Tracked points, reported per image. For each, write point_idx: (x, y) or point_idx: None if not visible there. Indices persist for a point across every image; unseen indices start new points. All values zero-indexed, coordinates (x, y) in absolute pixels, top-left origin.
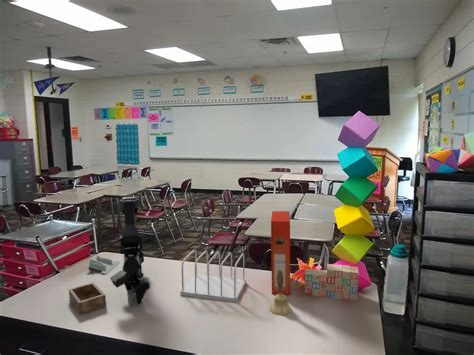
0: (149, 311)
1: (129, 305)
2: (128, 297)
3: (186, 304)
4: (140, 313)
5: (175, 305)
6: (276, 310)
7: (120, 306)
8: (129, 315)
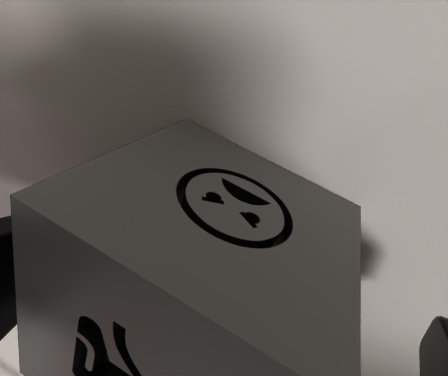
0: (9, 194)
1: (172, 128)
2: (136, 193)
3: (5, 354)
4: (5, 121)
5: (17, 329)
6: None
7: (317, 23)
8: (8, 2)
